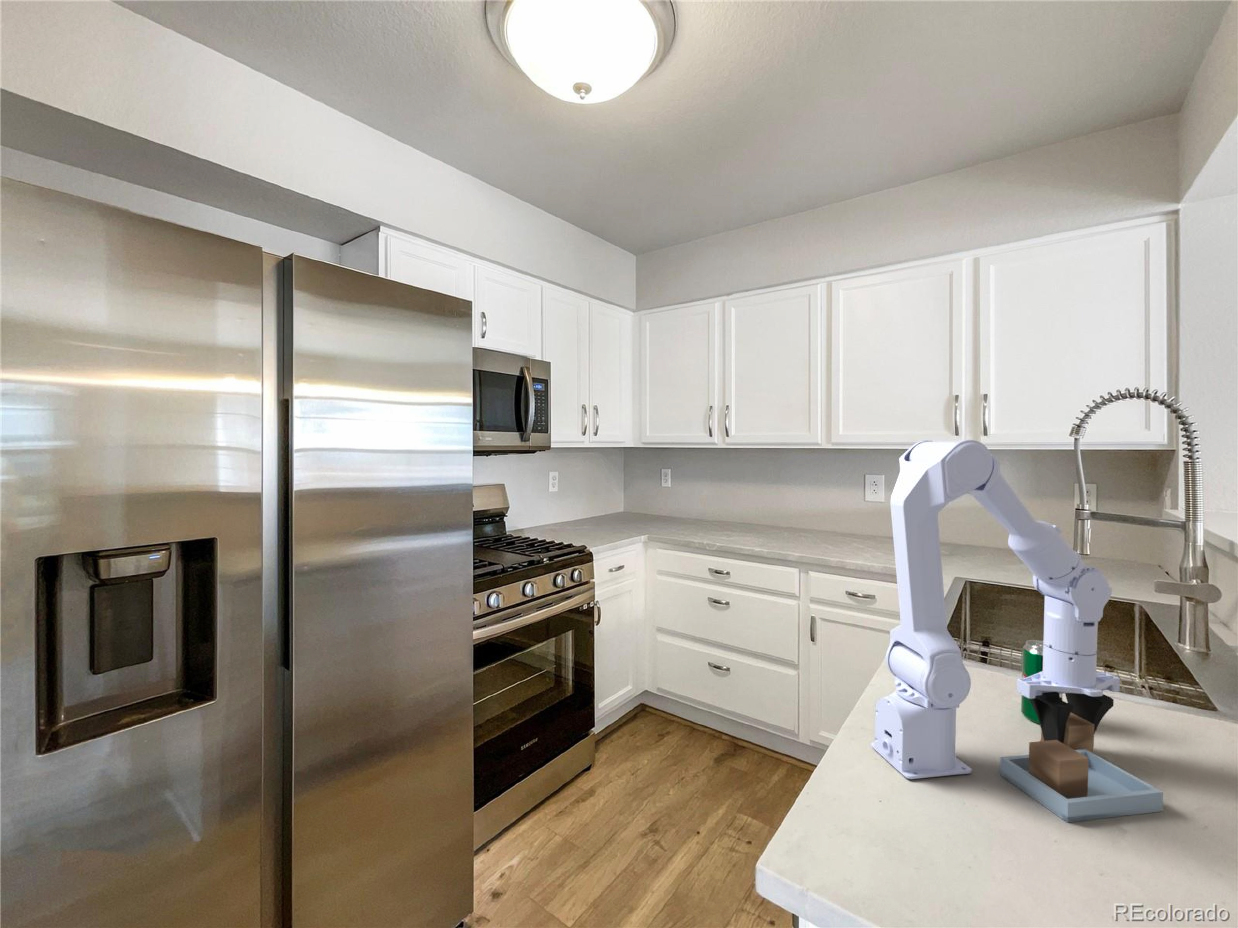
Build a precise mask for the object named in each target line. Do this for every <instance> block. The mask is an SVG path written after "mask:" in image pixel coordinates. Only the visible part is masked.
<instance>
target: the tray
mask: <svg viewBox="0 0 1238 928" xmlns="http://www.w3.org/2000/svg"><path fill="white" fill-rule="evenodd" d="M1075 751H1077V752H1079V753H1081V754H1082V755H1084V756H1086V757H1088V758H1089V761H1088V794H1087V797H1081V798H1072V799H1067V798H1065V797H1064V796H1062V795H1061V794H1059V793H1058V792H1056V791H1055V790H1053V789H1052V788H1050V787H1049V786H1047V785H1046V784H1044V783H1043V782H1041V781H1040V780H1038V779H1037V778H1035V777H1034V776H1032V775H1031V774H1029V754H1020V755H1012V756H1011V755H1010V756H1002V757H1000V759H999V760H1000V761H999V762H1000V766H999V767H1000V768H999V774H1000V776H1002V777H1003V778H1005V780H1007V781H1009V782H1010V783H1011V784H1013V785H1014V786H1016V787H1017V788H1019V789H1020V790H1021V791H1022V792H1024V793H1026V794H1027V795H1028V796H1030V797H1031V798H1032V799H1033V800H1035V801H1037V802H1038V803H1039V804H1041V805H1042V806H1043V807H1045V808H1046V809H1048V810H1049V811H1051V812H1052V813H1053V814H1055V815H1056V816H1057V817H1059V818H1060V819H1062V820H1063V821H1064V822H1066V823H1073V822H1081V821H1082V822H1083V821H1090V820H1091V821H1092V820H1099V819H1107V818H1116V817H1117V818H1118V817H1124V816H1125V817H1126V816H1133V815H1134V816H1135V815H1142V814H1149V813H1156V812H1157V813H1159V812H1163V801H1164V797H1163V796H1164V792H1163V791H1162V790H1160V789H1158V788H1156V787H1155V786H1152V785H1151V784H1149V783H1148V782H1145V781H1144V780H1142V779H1140V778H1139V777H1137V776H1136V775H1133V774H1131V773H1129V772H1128V771H1126V770H1125V769H1122V768H1120V767H1119V766H1117V765H1115V764H1114V763H1111V762H1109V761H1107V760H1106V759H1105V758H1102V757H1101V756H1098V755H1097V754H1096V753H1094V752H1093V753H1092V752H1090V751H1088V750H1086V749H1081V750H1075Z"/></svg>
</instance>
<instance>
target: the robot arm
mask: <svg viewBox="0 0 1238 928" xmlns="http://www.w3.org/2000/svg"><path fill="white" fill-rule="evenodd" d="M898 461H899V462H898V463H899V472H898V473H899V474H898V477H897V479H896V482H895V485H894V486H893V487H894V488H893V491H892V493H891V494H890V495H891V496H890V503H889V505H890V515H891V525H892V537H893V539H892V540H893V547H894V548H893V550H894V559H895V560H894V561H895V563H894V564H895V570H896V571H895V572H896V573H895V574H896V583H897V584H896V585H897V596H898V606H899V617H900V618H899V619H900V621H899V622H900V624H899V625H897V626H896V627H894V628H892V629H891V630H890V631H889V639H890V640H889V646H888V648H887V651H886V653H885V663H886V666H887V667H886V668H888V670H889V672H890V673H891V674H892V676H894V685H895V690H894V691H893V692H892V693H890V694H889V695H886V696H883V697H880V698H879V699H878V700H877V701H876V704H875V708H874V709H875V711H874V741H873V742H870V743H871V744H870V745H871V748H873V750H875V751H876V752H877V753H878V754H879V755H880V756H881V757H882V758H883V759H885V760H886V761H887V762H888V763H889V764H890V765H891V766H893V767H894V768H895V770H897V771H898V772H899V773H900V774H901V775H903V777H905V778H906V779H908V780H914V779H915V780H916V779H917V780H918V779H925V778H935V777H937V778H938V777H944V776H945V777H946V776H956V775H965V774H967V775H968V774H971V773H972V771H973V770H972V768H971V767H970V766H969V765H967V764H966V763H964V762H963V761H962V760H960V759H959V758H957V757H956V740H957V739H956V734H957V728H956V727H957V726H956V725H957V709H959V708H960V704H962V703H963V702H964V701H965V700H966V699H967V697H968V695H969V693H970V690H971V687H972V686H971V685H972V681H971V680H972V679H971V675H970V673H969V671H968V669H967V667H966V666H965V664H964V662H963V657H962V651H961V648H960V647H959V645H958V644H957V642H956V641H955V639H954V638H953V636H952V635H951V634H950V632H949V631H948V626H947V624H948V623H947V615H946V600H945V591H944V577H943V565H942V564H943V563H942V555H941V553H942V552H941V541H940V530H939V529H940V528H939V518H938V517H939V513H940V512H941V511H942V510H943V509H944V508H945V507H946V506H948V505H949V503H951V502H953V501H955V500H957V499H958V498H961V497H962V496H964V495H966V494H968V495H970V496H972V497H973V498H974V499H975V501H977V502H978V503H979V504H980V505H981V506H982V507H983V508H984V509H985V510H986V511H987V512H988V513H989V514H990V515H991V516H992V517H993V518H994V520H996V521H997V522H998V523H999V524H1000V525H1001V526H1002V527H1003V528H1004V529H1005V530H1006V531H1007V532H1008V533H1009V534H1008V539H1007V544H1008V547H1010V549H1011V550H1012V552H1014V554H1015V555H1016V556H1017V557H1018V558H1019V559H1020V560H1021V562H1022V563H1023V564H1024V565H1025V566H1026V567H1027V569H1029V571H1030V572H1031V574H1032V583H1033V587H1034V589H1035V590H1036V591H1038V592H1039V594H1041V595H1043V596H1044V605H1043V607H1044V611H1043V640H1042V641H1043V642H1044V643H1043V671H1041V672H1039V673H1036V674H1034V675H1032V676H1029V677H1026V678H1022V677H1021V678H1016V693H1017V694H1019V695H1023V696H1025V697H1027V698H1028V699H1029V701H1030V702H1031V704H1032V706H1033V708H1034V710H1035V712H1036V715H1037V717H1038V720H1039V723H1040V724H1039V726H1040V731H1041V730H1042V734H1043V738H1044V741H1050V740H1058V741H1060V742H1061V743H1063V742H1064V736H1065V727H1066V723H1067V720H1068V717H1069V715H1070V713H1073V714H1075V715H1077V716H1079V717H1081V718H1083V719H1085V720H1087V721H1089V722H1091V723H1093V724H1094V735H1095V733H1096V731H1097V728H1098V726H1099V724H1100V722H1101V721H1102V720H1103V718H1104V717H1105V715H1106V714H1107V713H1108V712H1109V710H1111V709H1112V708H1113V707H1114V699H1113V698H1112V697H1110V696H1108V695H1106V694H1104V691H1109V692H1113V693H1118V692H1120V685H1121V684H1120V683H1121V681H1120V680H1121V678H1119V677H1117V676H1114V675H1112V674H1109V673H1108V672H1097V660H1098V659H1097V656H1098V655H1097V654H1098V631H1099V630H1098V625H1099V622H1100V621H1101V620H1102V618H1103V617H1104V616H1103V615H1104V608H1105V606H1106V604H1107V603H1108V602H1109V600H1110V599H1111V596H1112V594H1113V593H1112V592H1113V587H1110V584H1109V582H1108V580H1107V578H1106V577H1105V576H1104V574H1103V573H1102V572H1101V571H1100V570H1099V569H1097V568H1096V567H1092V566H1088V565H1086V564H1085V561H1083V559H1082V555H1081V554H1080V553H1079V552H1078V551H1075V550H1074V549H1073V548H1072V547H1071V545H1070V544H1069V543H1068V542H1067V541H1066V540H1065V539H1064V538H1063V536H1062V535H1061V533H1063V531H1062V530H1061V529H1060V527H1059V526H1058V525H1057V524H1056V525H1055V524H1051V523H1049V522H1047V521H1044V520H1036V519H1035V517H1033V515H1032V514H1031V512H1029V509H1027V507H1026V506H1025V504H1024V503H1023V502H1022V501H1021V499H1020V497H1019V496H1018V495H1017V493H1016V492H1015V491H1014V490H1013V488H1012V487H1011V486H1010V484H1009V483H1008V482H1007V480H1006V479H1005V477H1004V476H1003V475H1002V473H1001V471H1000V470H1001V469H1000V468H1001V463H1000V460H999V459H998V458H996V457H995V456H994V455H993V454H992V453H991V452H990V450H989V448H988V447H987V446H986V445H985V444H984V443H982V442H980V441H977V440H975V439H963V440H956V441H955V440H954V441H950V440H949V441H947V440H946V441H945V440H943V441H933V440H921V441H917V442H916V443H914V444H913V445H912V446H910V448H908V449H907V450H906V451H905V452H904V453H903V454H902V455H901V456H899V458H898ZM1059 694H1063V695H1064V694H1065V699H1066V702H1065V701H1064V700H1063V701H1062V698H1061V697H1059Z"/></svg>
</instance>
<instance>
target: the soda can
mask: <svg viewBox="0 0 1238 928" xmlns="http://www.w3.org/2000/svg"><path fill="white" fill-rule="evenodd" d="M1043 641H1044V640H1041V639H1040V640H1039V639H1028V640H1025V644H1024V645H1023V646H1022V663H1021V679H1022V678H1026V677H1029V676H1032V675H1034V674H1036V673H1039V672H1041V671H1043V643H1044V642H1043ZM1020 695H1021V694H1020ZM1059 697H1061V698H1062V701H1064V700H1063V697H1064V693H1063V694H1059ZM1020 701H1021V702H1020V703H1021V704H1020V712H1021V714H1022V715H1023V716H1024V717H1025V718H1026V719H1027V721H1028V720H1029V721H1030V722H1033V723H1034V724H1038V725H1040V723H1039V720H1038V717H1037V715H1036V712H1035V710H1034V708H1033V706H1032V704H1031V702H1030V701H1029V699H1028V698H1027V697H1025V696H1023V695H1021V699H1020Z"/></svg>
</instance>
